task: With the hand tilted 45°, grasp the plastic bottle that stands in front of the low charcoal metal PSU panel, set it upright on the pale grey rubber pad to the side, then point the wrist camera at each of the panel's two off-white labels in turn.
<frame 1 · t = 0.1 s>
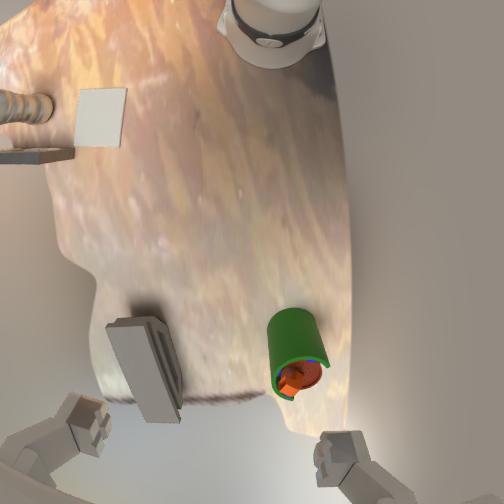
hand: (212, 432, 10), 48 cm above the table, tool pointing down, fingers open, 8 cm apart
plastic bottle: (44, 109, 50), on the table
motor: (289, 328, 64), on the table
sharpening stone: (157, 348, 67), on the table
rubber pad: (99, 117, 51), on the table
psu panel: (40, 153, 52), on the table
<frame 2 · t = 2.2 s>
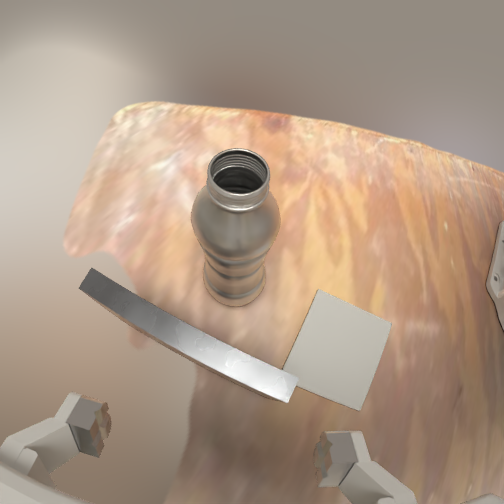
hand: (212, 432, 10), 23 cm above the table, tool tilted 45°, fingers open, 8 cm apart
plastic bottle: (233, 283, 37), on the table
rubber pad: (338, 350, 34), on the table
psu panel: (195, 353, 33), on the table
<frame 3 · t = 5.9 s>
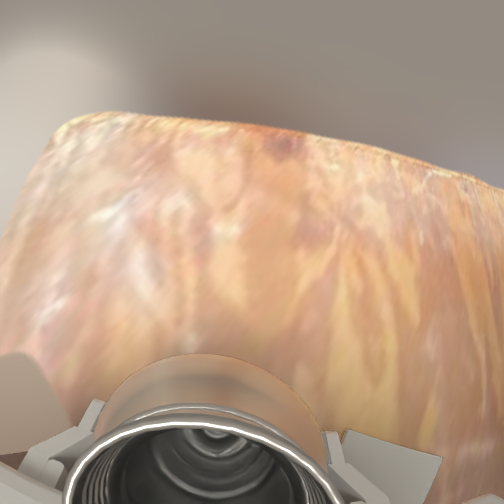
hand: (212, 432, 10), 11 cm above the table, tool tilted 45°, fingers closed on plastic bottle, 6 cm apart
plastic bottle: (216, 423, 21), on the table, touching gripper
when the fingers open (13 cm above the table, at t = 13.1 s): plastic bottle moves 3 cm, resting on rubber pad.
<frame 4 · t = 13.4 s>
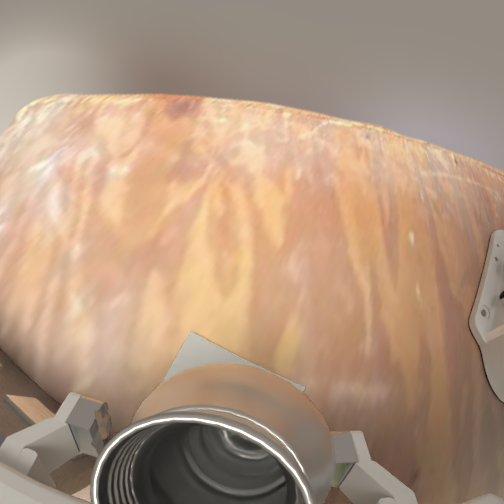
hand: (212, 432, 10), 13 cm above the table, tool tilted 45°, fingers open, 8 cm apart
plastic bottle: (251, 427, 22), point 1 cm above the table, touching gripper, rubber pad
rubber pad: (215, 421, 22), on the table
psu panel: (37, 397, 21), on the table
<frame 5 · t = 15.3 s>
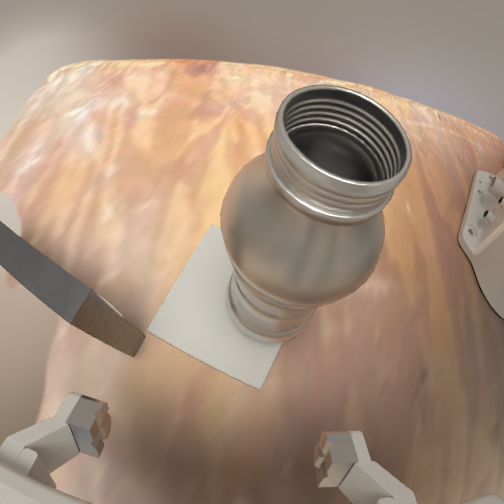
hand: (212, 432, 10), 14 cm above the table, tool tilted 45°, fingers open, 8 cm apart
plastic bottle: (266, 306, 26), point 1 cm above the table, touching rubber pad
rubber pad: (233, 303, 27), on the table
psu panel: (61, 294, 25), on the table
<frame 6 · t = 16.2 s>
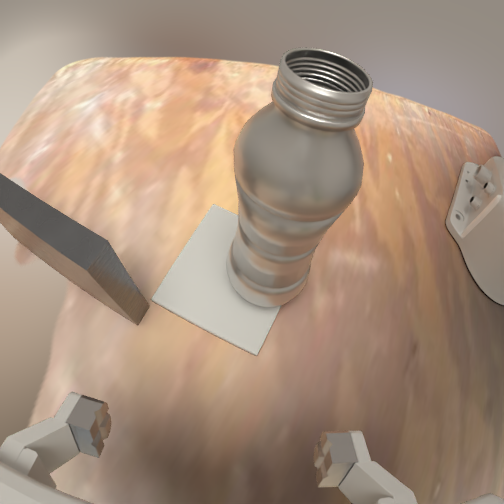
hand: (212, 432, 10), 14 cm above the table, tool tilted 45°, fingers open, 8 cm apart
plastic bottle: (263, 278, 28), resting on rubber pad
rubber pad: (232, 275, 29), on the table
psu panel: (70, 268, 27), on the table
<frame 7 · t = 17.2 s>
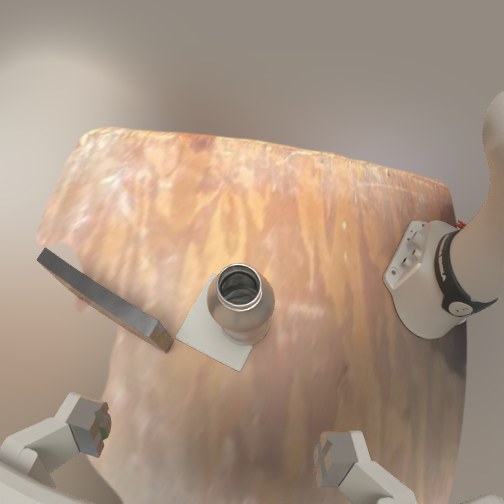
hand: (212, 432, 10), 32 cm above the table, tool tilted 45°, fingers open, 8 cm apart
plastic bottle: (244, 323, 44), point 1 cm above the table, touching rubber pad
rubber pad: (225, 321, 45), on the table
psu panel: (118, 316, 44), on the table
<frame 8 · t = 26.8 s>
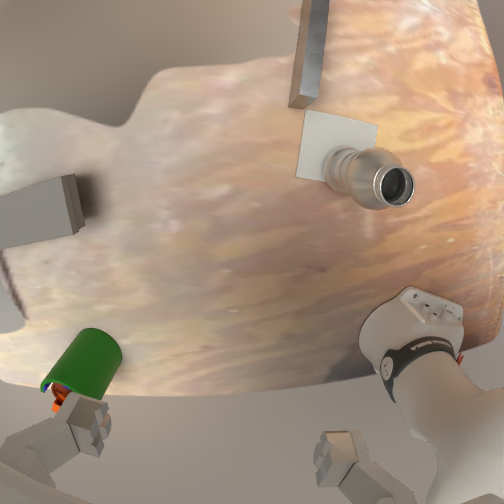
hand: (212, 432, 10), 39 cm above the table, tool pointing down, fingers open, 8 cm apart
plastic bottle: (340, 168, 45), resting on rubber pad
motor: (99, 346, 56), on the table
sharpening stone: (44, 206, 47), on the table
rubber pad: (337, 149, 44), on the table
psu panel: (303, 51, 40), on the table
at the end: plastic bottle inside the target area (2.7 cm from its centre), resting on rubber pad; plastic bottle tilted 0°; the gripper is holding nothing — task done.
